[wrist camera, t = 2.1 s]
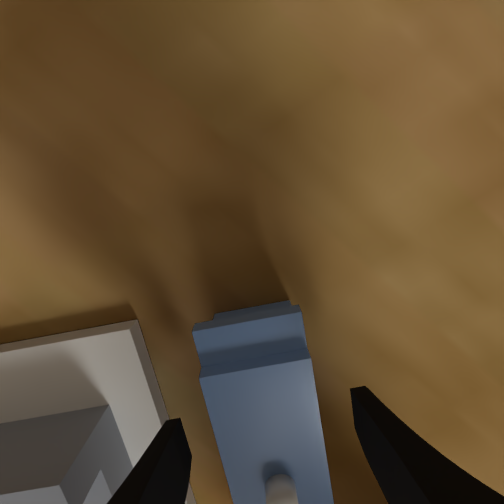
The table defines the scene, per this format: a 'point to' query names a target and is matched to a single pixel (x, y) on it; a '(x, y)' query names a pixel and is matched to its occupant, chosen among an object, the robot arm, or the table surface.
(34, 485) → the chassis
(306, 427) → the block
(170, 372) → the table surface
